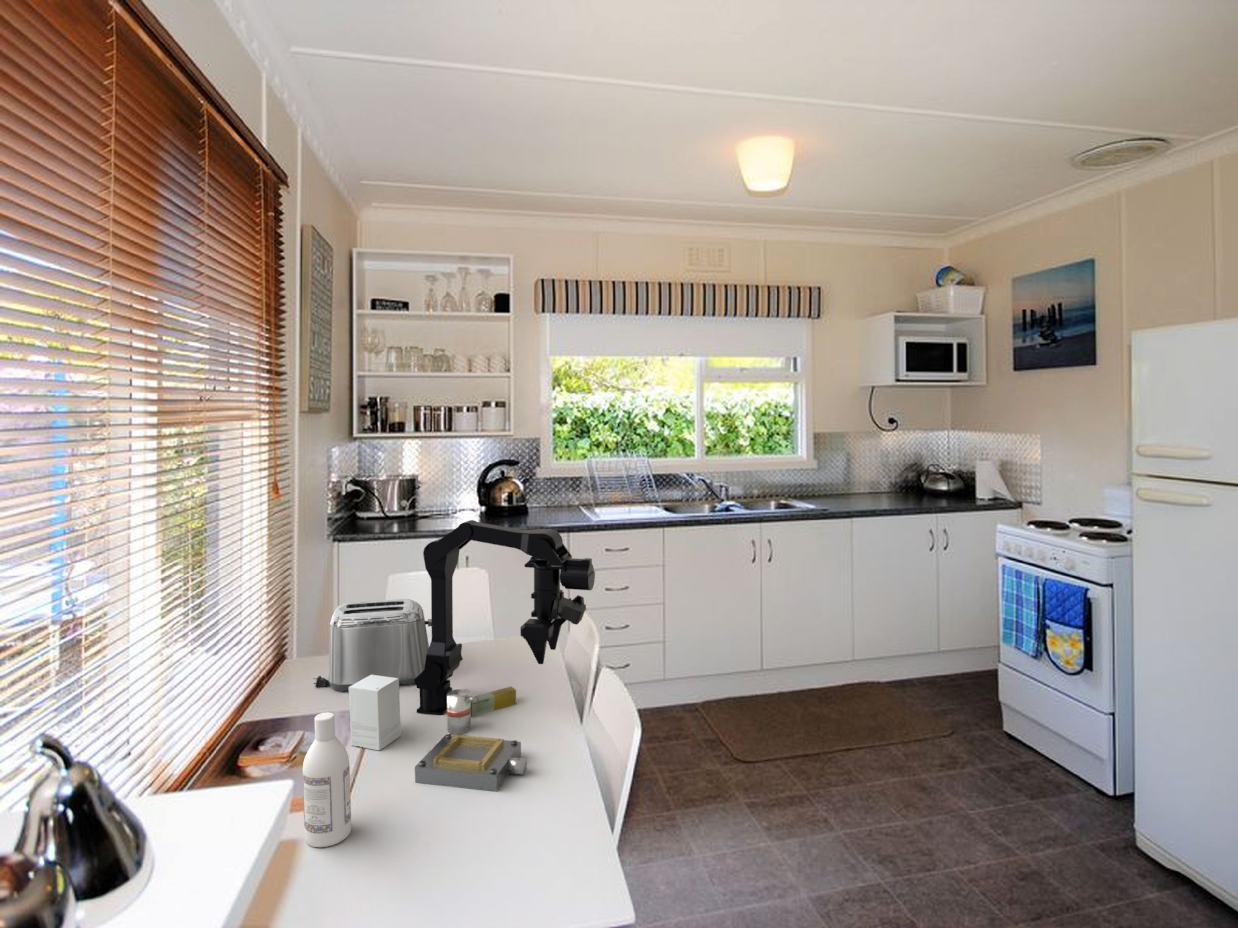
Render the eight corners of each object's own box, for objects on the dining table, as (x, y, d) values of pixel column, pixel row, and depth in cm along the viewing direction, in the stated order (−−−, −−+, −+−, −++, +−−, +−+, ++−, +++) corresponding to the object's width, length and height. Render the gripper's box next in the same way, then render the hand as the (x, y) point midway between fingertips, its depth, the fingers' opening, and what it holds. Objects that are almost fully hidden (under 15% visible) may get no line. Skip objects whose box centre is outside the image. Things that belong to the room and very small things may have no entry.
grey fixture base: (415, 782, 127) (414, 761, 127) (446, 748, 140) (445, 729, 139) (512, 793, 123) (512, 771, 123) (535, 757, 136) (535, 738, 136)
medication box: (469, 719, 154) (469, 701, 153) (464, 714, 156) (464, 697, 156) (516, 705, 161) (516, 688, 161) (511, 701, 163) (511, 685, 163)
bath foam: (338, 817, 116) (334, 702, 114) (359, 833, 111) (355, 714, 110) (297, 836, 111) (292, 716, 109) (317, 854, 106) (313, 729, 105)
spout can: (443, 733, 146) (442, 697, 146) (453, 723, 151) (452, 688, 151) (472, 736, 145) (472, 700, 144) (482, 726, 150) (481, 690, 149)
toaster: (435, 685, 172) (433, 611, 171) (308, 697, 165) (305, 620, 164) (436, 662, 188) (434, 594, 187) (320, 672, 181) (318, 601, 180)
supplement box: (402, 735, 146) (400, 677, 145) (379, 751, 139) (377, 690, 138) (373, 730, 148) (371, 673, 147) (349, 745, 141) (347, 686, 140)
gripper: (571, 600, 140) (571, 675, 141) (592, 579, 159) (592, 645, 160) (519, 597, 142) (519, 670, 144) (546, 576, 161) (546, 641, 162)
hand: (547, 656), depth 152 cm, fingers open, 9 cm apart
